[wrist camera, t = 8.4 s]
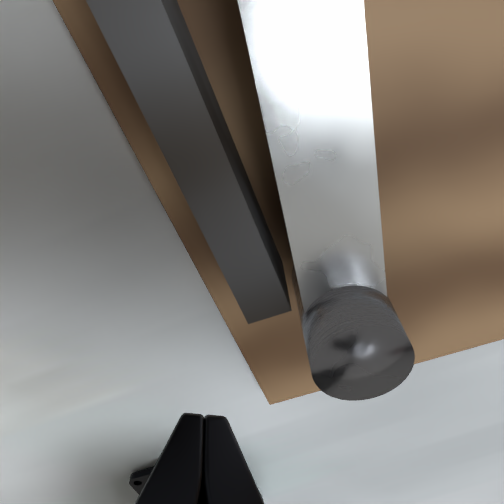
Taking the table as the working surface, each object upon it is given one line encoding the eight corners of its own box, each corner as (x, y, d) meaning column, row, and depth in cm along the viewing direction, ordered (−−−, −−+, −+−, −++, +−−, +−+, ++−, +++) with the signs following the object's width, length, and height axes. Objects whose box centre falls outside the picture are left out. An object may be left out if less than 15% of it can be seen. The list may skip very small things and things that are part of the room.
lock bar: (374, 294, 19) (416, 389, 15) (298, 310, 19) (319, 407, 15) (333, -111, 12) (393, -150, 7) (212, -77, 12) (205, -97, 8)
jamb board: (725, 254, 21) (827, 315, 17) (267, 385, 24) (275, 459, 20) (901, -440, 10) (1260, -653, 7) (47, -38, 13) (-17, -37, 10)
